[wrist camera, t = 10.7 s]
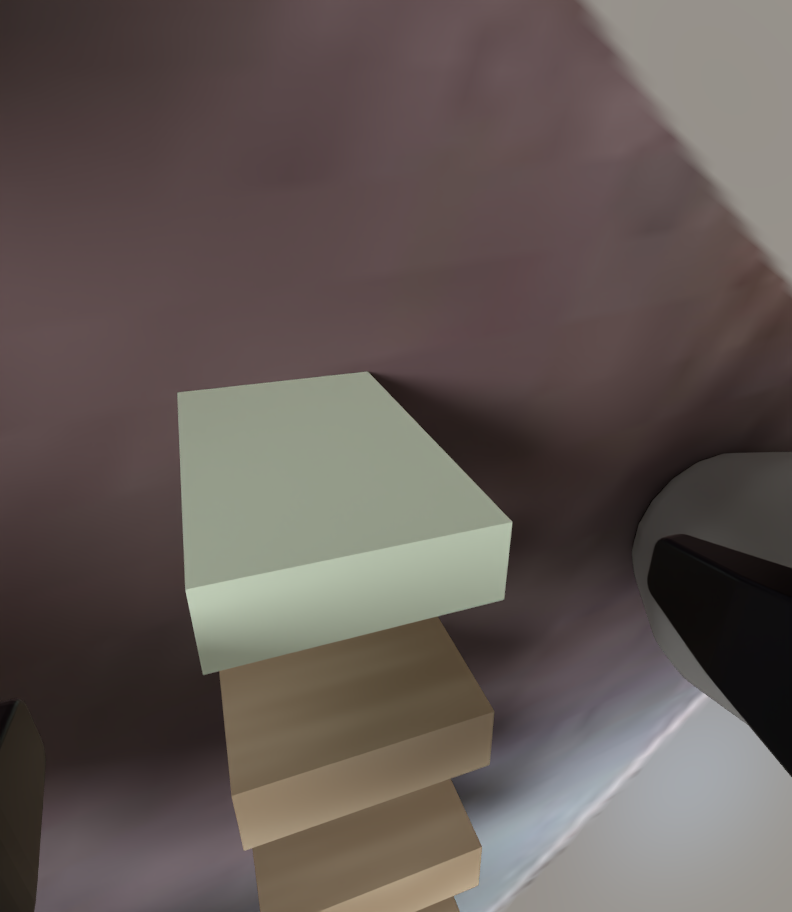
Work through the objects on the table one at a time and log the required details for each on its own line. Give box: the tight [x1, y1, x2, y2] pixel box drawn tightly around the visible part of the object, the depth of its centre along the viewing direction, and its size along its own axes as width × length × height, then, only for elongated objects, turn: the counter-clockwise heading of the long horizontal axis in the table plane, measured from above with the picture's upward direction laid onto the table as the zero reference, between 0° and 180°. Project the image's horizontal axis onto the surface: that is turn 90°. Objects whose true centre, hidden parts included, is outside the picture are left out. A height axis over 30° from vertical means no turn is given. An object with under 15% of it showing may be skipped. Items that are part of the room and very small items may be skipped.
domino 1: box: [177, 372, 512, 675], centre depth 12 cm, size 2×5×8 cm, turn 91°
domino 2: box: [219, 616, 494, 851], centre depth 14 cm, size 2×5×8 cm, turn 91°
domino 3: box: [253, 779, 482, 912], centre depth 16 cm, size 2×5×8 cm, turn 91°
